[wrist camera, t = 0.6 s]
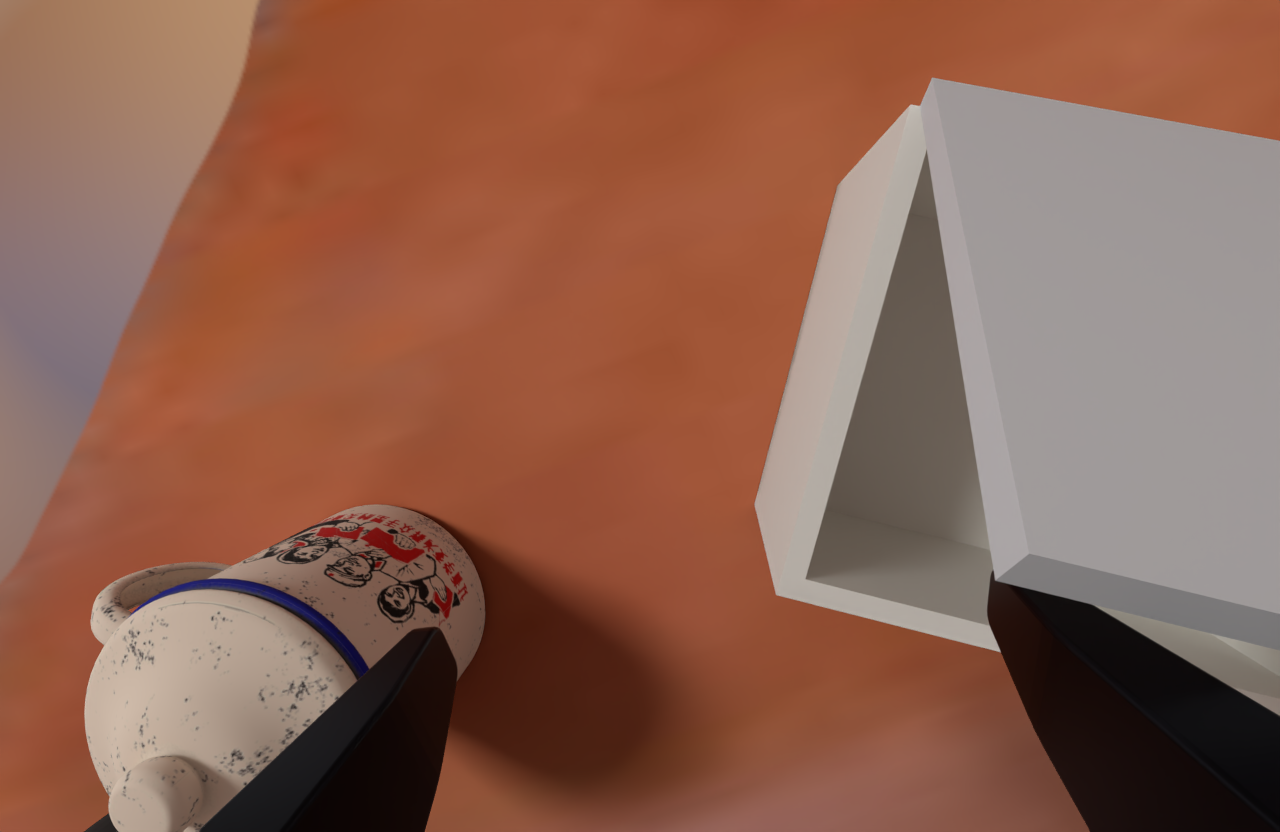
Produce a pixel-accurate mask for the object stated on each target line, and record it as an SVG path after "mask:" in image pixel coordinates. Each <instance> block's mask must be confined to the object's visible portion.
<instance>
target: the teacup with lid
mask: <svg viewBox="0 0 1280 832" xmlns="http://www.w3.org/2000/svg"><path fill="white" fill-rule="evenodd" d="M141 604H142V605H141ZM138 605H140V606H139V607H138V608H137V609H136V610H135V611H134V612H133V613H131V612H130V611H128V610H129V609H131V608H133V607H136V606H138ZM484 624H485V600H484V593H483V589H482V585H481V581H480V579H479V576H478V573H477V571H476V569H475V566H474V564H473V563H472V561H471V559H470V557H469V556H468V554H467V553H466V551H465V550H464V549H463V547H462V546H461V545H460V544H459V543H458V541H457V540H456V539H455V538H454V537H453V536H452V535H451V534H450V533H449V532H447V531H446V530H445V529H444V528H443V527H441V526H440V525H438V524H437V523H436V522H434V521H433V520H431V519H429V518H427V517H425V516H423V515H421V514H419V513H417V512H414V511H411V510H408V509H405V508H401V507H397V506H390V505H364V506H358V507H354V508H351V509H347V510H344V511H342V512H339V513H337V514H335V515H333V516H331V517H329V518H327V519H325V520H323V521H321V522H319V523H317V524H315V525H313V526H311V527H309V528H307V529H305V530H303V531H301V532H299V533H297V534H295V535H293V536H291V537H289V538H287V539H285V540H283V541H281V542H279V543H277V544H275V545H273V546H271V547H269V548H267V549H265V550H263V551H261V552H259V553H257V554H255V555H253V556H251V557H249V558H247V559H245V560H243V561H241V562H239V563H237V564H235V565H233V566H232V565H227V564H221V563H213V562H186V563H175V564H168V565H162V566H157V567H153V568H149V569H145V570H141V571H138V572H135V573H132V574H130V575H127V576H125V577H122V578H120V579H118V580H116V581H115V582H113V583H111V584H110V585H108V586H107V587H106V588H105V589H103V590H102V591H101V592H100V594H99V595H98V596H97V598H96V600H95V602H94V605H93V610H92V615H91V629H92V631H93V634H94V636H95V637H96V638H97V639H98V640H99V641H100V642H101V643H102V644H103V645H105V646H104V647H103V649H102V651H101V653H100V655H99V656H98V658H97V660H96V662H95V665H94V667H93V670H92V673H91V676H90V679H89V683H88V687H87V693H86V700H85V729H86V736H87V742H88V746H89V750H90V754H91V757H92V760H93V763H94V766H95V769H96V771H97V773H98V776H99V778H100V780H101V782H102V784H103V786H104V788H105V790H106V792H107V793H108V795H109V796H110V799H109V815H110V818H111V821H112V823H113V825H114V826H115V828H116V829H117V831H118V832H199V830H200V829H201V827H202V826H203V825H204V824H206V823H207V822H208V821H209V820H210V819H211V818H212V817H213V816H214V815H215V814H216V813H217V812H218V811H219V810H220V809H221V808H223V807H224V806H225V805H226V804H227V803H228V802H229V801H230V800H231V799H232V798H233V797H234V796H235V795H236V794H237V793H238V792H240V791H241V790H242V789H243V788H244V787H245V786H246V785H247V784H248V783H249V782H250V781H251V780H252V779H253V778H254V777H255V776H257V775H258V774H259V773H260V772H261V771H262V770H263V769H264V768H265V767H266V766H267V765H268V764H269V763H270V762H271V761H272V760H274V759H275V758H276V757H277V756H278V755H279V754H280V753H281V752H282V751H283V750H284V749H285V748H286V747H287V746H288V745H289V744H291V743H292V742H293V741H294V740H295V739H296V738H297V737H298V736H299V735H300V734H301V733H302V732H303V731H304V730H305V729H306V728H307V727H309V726H310V725H311V724H312V723H313V722H314V721H315V720H316V719H317V718H318V717H319V716H320V715H321V714H322V713H323V712H324V711H326V710H327V709H328V708H329V707H330V706H331V705H332V704H333V703H334V702H335V701H336V700H337V699H338V698H339V697H340V696H341V695H343V694H344V693H345V692H346V691H347V690H348V689H349V688H350V687H351V686H352V685H353V684H354V683H355V682H356V681H357V680H358V679H359V678H361V677H362V676H363V675H364V674H365V673H366V672H367V671H368V670H369V669H370V668H371V667H372V666H373V665H374V664H375V663H376V662H378V661H379V660H380V659H381V658H382V657H383V656H384V655H385V654H386V653H387V652H388V651H389V650H390V649H391V648H392V647H393V646H395V645H396V644H397V643H398V642H399V641H400V640H401V639H402V638H403V637H404V636H405V635H406V634H407V633H408V632H410V631H411V630H413V629H416V628H424V627H434V626H435V627H438V628H440V629H441V630H442V632H443V634H444V636H445V638H446V640H447V642H448V644H449V647H450V649H451V651H452V653H453V655H454V658H455V660H456V663H457V669H458V676H457V680H458V679H459V678H460V676H461V675H462V673H463V672H464V671H465V669H466V668H467V666H468V665H469V663H470V662H471V661H472V659H473V657H474V655H475V653H476V651H477V649H478V647H479V644H480V642H481V638H482V635H483V630H484Z"/></svg>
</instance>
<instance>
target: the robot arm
mask: <svg viewBox="0 0 1280 832" xmlns="http://www.w3.org/2000/svg"><path fill="white" fill-rule="evenodd" d="M987 617H988V622H989V625H990V628H991V630H992V632H993V635H994V637H995V640H996V642H997V644H998V647H999V649H1000V651H1001V654H1002V656H1003V658H1004V661H1005V663H1006V665H1007V668H1008V670H1009V672H1010V675H1011V677H1012V679H1013V682H1014V684H1015V686H1016V689H1017V691H1018V693H1019V696H1020V698H1021V700H1022V703H1023V705H1024V707H1025V710H1026V712H1027V714H1028V717H1029V719H1030V721H1031V723H1032V725H1033V728H1034V730H1035V732H1036V734H1037V736H1038V738H1039V740H1040V742H1041V743H1042V745H1043V747H1044V749H1045V751H1046V753H1047V755H1048V756H1049V758H1050V760H1051V762H1052V764H1053V765H1054V767H1055V769H1056V771H1057V773H1058V774H1059V776H1060V778H1061V780H1062V782H1063V783H1064V785H1065V787H1066V789H1067V791H1068V792H1069V794H1070V796H1071V798H1072V800H1073V801H1074V803H1075V805H1076V807H1077V809H1078V810H1079V812H1080V814H1081V816H1082V818H1083V819H1084V821H1085V823H1086V825H1087V826H1088V828H1089V830H1090V832H1280V715H1278V714H1276V713H1275V712H1273V711H1271V710H1269V709H1268V708H1266V707H1264V706H1263V705H1261V704H1259V703H1258V702H1256V701H1254V700H1253V699H1251V698H1249V697H1248V696H1246V695H1244V694H1243V693H1241V692H1239V691H1237V690H1236V689H1234V688H1232V687H1231V686H1229V685H1227V684H1226V683H1224V682H1222V681H1221V680H1219V679H1217V678H1216V677H1214V676H1212V675H1211V674H1209V673H1207V672H1206V671H1204V670H1202V669H1200V668H1199V667H1197V666H1195V665H1194V664H1192V663H1190V662H1189V661H1187V660H1185V659H1184V658H1182V657H1180V656H1179V655H1177V654H1175V653H1174V652H1172V651H1170V650H1168V649H1167V648H1165V647H1163V646H1162V645H1160V644H1158V643H1157V642H1155V641H1153V640H1152V639H1150V638H1148V637H1147V636H1145V635H1143V634H1142V633H1140V632H1138V631H1137V630H1135V629H1133V628H1131V627H1130V626H1128V625H1126V624H1125V623H1123V622H1121V621H1120V620H1118V619H1116V618H1115V617H1113V616H1111V615H1110V614H1108V613H1106V612H1105V611H1103V610H1101V609H1099V608H1098V607H1096V606H1094V605H1092V604H1088V603H1084V602H1080V601H1076V600H1072V599H1068V598H1064V597H1060V596H1056V595H1052V594H1048V593H1044V592H1040V591H1036V590H1031V589H1027V588H1023V587H1019V586H1015V585H1011V584H1007V583H1003V582H999V581H995V576H994V570H992V572H991V576H990V583H989V593H988V602H987ZM457 676H458V669H457V663H456V660H455V658H454V655H453V653H452V651H451V649H450V647H449V644H448V642H447V640H446V638H445V636H444V634H443V632H442V630H441V629H440V628H438V627H435V626H434V627H424V628H416V629H413V630H411V631H410V632H408V633H407V634H406V635H405V636H404V637H403V638H402V639H401V640H400V641H399V642H398V643H397V644H396V645H395V646H393V647H392V648H391V649H390V650H389V651H388V652H387V653H386V654H385V655H384V656H383V657H382V658H381V659H380V660H379V661H378V662H376V663H375V664H374V665H373V666H372V667H371V668H370V669H369V670H368V671H367V672H366V673H365V674H364V675H363V676H362V677H361V678H359V679H358V680H357V681H356V682H355V683H354V684H353V685H352V686H351V687H350V688H349V689H348V690H347V691H346V692H345V693H344V694H343V695H341V696H340V697H339V698H338V699H337V700H336V701H335V702H334V703H333V704H332V705H331V706H330V707H329V708H328V709H327V710H326V711H324V712H323V713H322V714H321V715H320V716H319V717H318V718H317V719H316V720H315V721H314V722H313V723H312V724H311V725H310V726H309V727H307V728H306V729H305V730H304V731H303V732H302V733H301V734H300V735H299V736H298V737H297V738H296V739H295V740H294V741H293V742H292V743H291V744H289V745H288V746H287V747H286V748H285V749H284V750H283V751H282V752H281V753H280V754H279V755H278V756H277V757H276V758H275V759H274V760H272V761H271V762H270V763H269V764H268V765H267V766H266V767H265V768H264V769H263V770H262V771H261V772H260V773H259V774H258V775H257V776H255V777H254V778H253V779H252V780H251V781H250V782H249V783H248V784H247V785H246V786H245V787H244V788H243V789H242V790H241V791H240V792H238V793H237V794H236V795H235V796H234V797H233V798H232V799H231V800H230V801H229V802H228V803H227V804H226V805H225V806H224V807H223V808H221V809H220V810H219V811H218V812H217V813H216V814H215V815H214V816H213V817H212V818H211V819H210V820H209V821H208V822H207V823H206V824H204V825H203V826H202V827H201V829H200V830H199V832H425V829H426V825H427V821H428V818H429V814H430V811H431V807H432V804H433V800H434V796H435V793H436V789H437V785H438V781H439V777H440V772H441V767H442V762H443V757H444V751H445V745H446V740H447V734H448V728H449V723H450V717H451V711H452V705H453V700H454V694H455V688H456V683H457Z"/></svg>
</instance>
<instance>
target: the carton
mask: <svg viewBox="0 0 1280 832" xmlns="http://www.w3.org/2000/svg"><path fill="white" fill-rule="evenodd" d="M754 505H755V509H756V513H757V517H758V521H759V525H760V530H761V534H762V538H763V542H764V546H765V551H766V555H767V559H768V563H769V567H770V571H771V576H772V580H773V584H774V588H775V592H776V595H778V596H782V597H786V598H790V599H794V600H798V601H802V602H806V603H810V604H814V605H818V606H821V607H825V608H829V609H833V610H837V611H841V612H845V613H849V614H853V615H857V616H861V617H865V618H869V619H872V620H876V621H880V622H884V623H888V624H892V625H896V626H900V627H904V628H908V629H912V630H916V631H920V632H923V633H927V634H931V635H935V636H939V637H943V638H947V639H951V640H955V641H959V642H963V643H967V644H971V645H974V646H978V647H982V648H986V649H990V650H994V651H998V652H1001V651H1000V649H999V647H998V644H997V642H996V640H995V637H994V635H993V632H992V630H991V628H990V625H989V622H988V617H987V602H988V593H989V583H990V576H991V572H992V570H993V563H992V557H991V551H990V544H989V538H988V532H987V525H986V519H985V513H984V507H983V500H982V494H981V488H980V481H979V475H978V469H977V462H976V456H975V450H974V443H973V437H972V431H971V425H970V418H969V412H968V406H967V399H966V393H965V387H964V380H963V374H962V368H961V362H960V355H959V349H958V343H957V336H956V330H955V324H954V317H953V311H952V305H951V299H950V292H949V286H948V280H947V273H946V267H945V261H944V254H943V248H942V242H941V236H940V229H939V223H938V217H937V210H936V204H935V198H934V191H933V185H932V179H931V172H930V166H929V160H928V154H927V147H926V141H925V135H924V128H923V122H922V116H921V109H920V106H916V105H910V106H909V107H908V108H907V109H906V110H905V111H904V113H903V114H902V115H901V116H900V117H899V118H898V119H897V120H896V121H895V122H894V124H893V125H892V126H891V127H890V128H889V129H888V130H887V131H886V132H885V134H884V135H883V136H882V137H881V138H880V139H879V140H878V141H877V142H876V144H875V145H874V146H873V147H872V148H871V149H870V150H869V151H868V152H867V153H866V155H865V156H864V157H863V158H862V159H861V160H860V161H859V162H858V163H857V165H856V166H855V167H854V168H853V169H852V170H851V171H850V172H849V173H848V174H847V176H846V177H845V178H844V179H843V180H842V181H841V182H840V183H839V184H838V186H837V190H836V194H835V197H834V201H833V205H832V209H831V213H830V217H829V220H828V224H827V228H826V232H825V236H824V240H823V243H822V247H821V251H820V255H819V259H818V263H817V266H816V270H815V274H814V278H813V282H812V286H811V289H810V293H809V297H808V301H807V305H806V309H805V312H804V316H803V320H802V324H801V328H800V332H799V335H798V339H797V343H796V347H795V351H794V355H793V358H792V362H791V366H790V370H789V374H788V378H787V381H786V385H785V389H784V393H783V397H782V401H781V405H780V408H779V412H778V416H777V420H776V424H775V428H774V431H773V435H772V439H771V443H770V447H769V451H768V454H767V458H766V462H765V466H764V470H763V474H762V477H761V481H760V485H759V489H758V493H757V497H756V500H755V504H754ZM1094 606H1096V607H1098V608H1099V609H1101V610H1103V611H1105V612H1106V613H1108V614H1110V615H1111V616H1113V617H1115V618H1116V619H1118V620H1120V621H1121V622H1123V623H1125V624H1126V625H1128V626H1130V627H1131V628H1133V629H1135V630H1137V631H1138V632H1140V633H1142V634H1143V635H1145V636H1147V637H1148V638H1150V639H1152V640H1153V641H1155V642H1157V643H1158V644H1160V645H1162V646H1163V647H1165V648H1167V649H1168V650H1170V651H1172V652H1174V653H1175V654H1177V655H1179V656H1180V657H1182V658H1184V659H1185V660H1187V661H1189V662H1190V663H1192V664H1194V665H1195V666H1197V667H1199V668H1200V669H1202V670H1204V671H1206V672H1207V673H1209V674H1211V675H1212V676H1214V677H1216V678H1217V679H1219V680H1221V681H1222V682H1224V683H1226V684H1227V685H1229V686H1231V687H1232V688H1234V689H1236V690H1237V691H1239V692H1241V693H1243V694H1244V695H1246V696H1248V697H1249V698H1251V699H1253V700H1254V701H1256V702H1258V703H1259V704H1261V705H1263V706H1264V707H1266V708H1268V709H1269V710H1271V711H1273V712H1275V713H1276V714H1278V715H1280V650H1276V649H1272V648H1267V647H1263V646H1259V645H1255V644H1251V643H1247V642H1243V641H1239V640H1235V639H1231V638H1227V637H1223V636H1219V635H1215V634H1210V633H1206V632H1202V631H1198V630H1194V629H1190V628H1186V627H1182V626H1178V625H1174V624H1170V623H1166V622H1162V621H1158V620H1154V619H1149V618H1145V617H1141V616H1137V615H1133V614H1129V613H1125V612H1121V611H1117V610H1113V609H1109V608H1105V607H1101V606H1097V605H1094Z"/></svg>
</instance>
